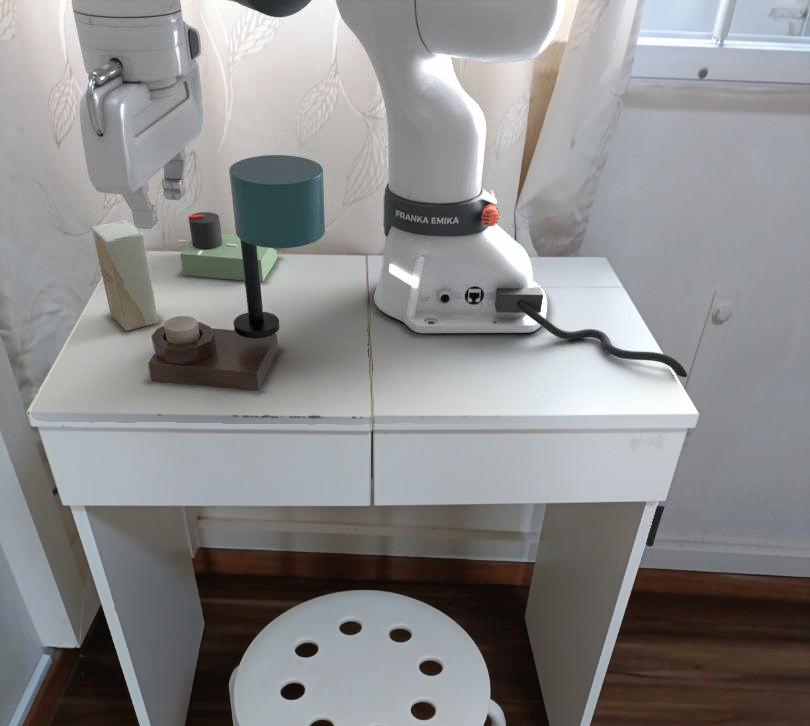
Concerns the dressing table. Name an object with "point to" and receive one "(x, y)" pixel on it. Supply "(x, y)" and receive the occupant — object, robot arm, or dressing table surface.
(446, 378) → the dressing table surface
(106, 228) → the box
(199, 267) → the dimmer panel
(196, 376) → the lamp base
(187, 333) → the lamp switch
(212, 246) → the dimmer knob
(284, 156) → the lamp
